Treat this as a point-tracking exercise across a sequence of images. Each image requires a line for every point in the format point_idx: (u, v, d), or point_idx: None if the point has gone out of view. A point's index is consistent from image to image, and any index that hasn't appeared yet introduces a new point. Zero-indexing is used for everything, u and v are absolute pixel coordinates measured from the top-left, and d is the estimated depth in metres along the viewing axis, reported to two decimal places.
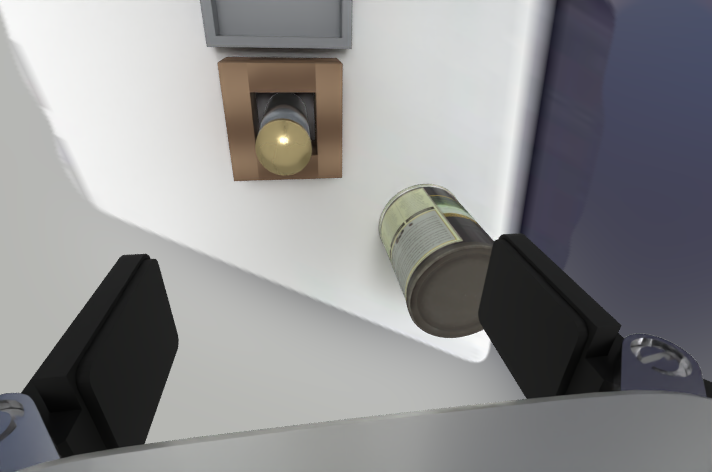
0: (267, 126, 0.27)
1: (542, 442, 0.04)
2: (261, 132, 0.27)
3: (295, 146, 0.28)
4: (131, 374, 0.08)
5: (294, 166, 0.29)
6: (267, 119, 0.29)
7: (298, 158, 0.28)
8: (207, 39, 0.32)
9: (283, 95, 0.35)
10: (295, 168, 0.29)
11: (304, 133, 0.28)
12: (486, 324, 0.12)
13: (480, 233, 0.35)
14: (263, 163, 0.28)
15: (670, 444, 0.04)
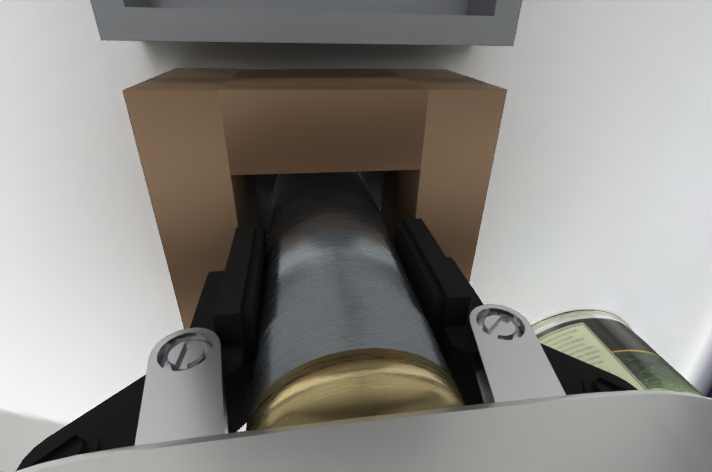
0: (297, 413, 0.06)
1: (542, 442, 0.04)
2: None
3: None
4: None
5: None
6: (290, 319, 0.07)
7: None
8: (100, 17, 0.10)
9: None
10: None
11: None
12: None
13: None
14: None
15: (670, 444, 0.04)
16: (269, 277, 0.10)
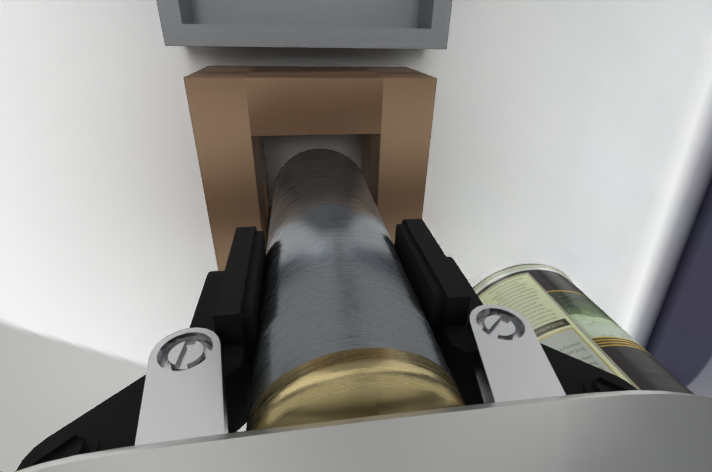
0: (298, 413, 0.06)
1: (542, 442, 0.04)
2: None
3: None
4: None
5: None
6: (290, 319, 0.07)
7: None
8: (165, 30, 0.16)
9: (320, 164, 0.14)
10: None
11: None
12: None
13: (684, 392, 0.19)
14: None
15: (670, 444, 0.04)
16: (269, 277, 0.10)
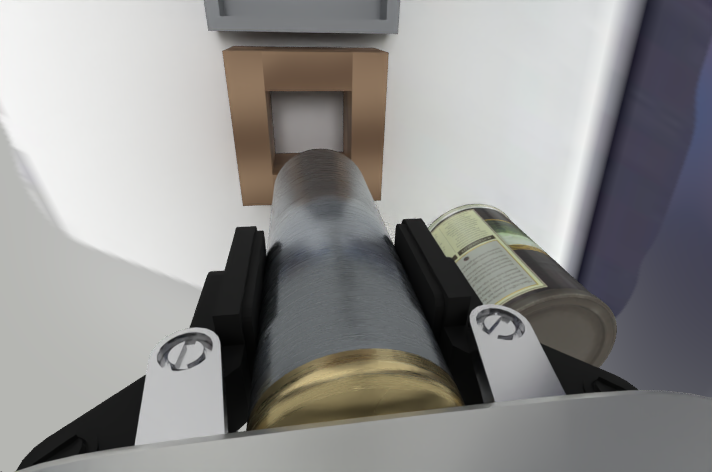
0: (297, 414, 0.06)
1: (542, 442, 0.04)
2: None
3: None
4: None
5: None
6: (290, 319, 0.07)
7: None
8: (209, 20, 0.24)
9: (319, 164, 0.14)
10: None
11: None
12: None
13: (564, 273, 0.27)
14: None
15: (670, 444, 0.04)
16: (269, 277, 0.10)
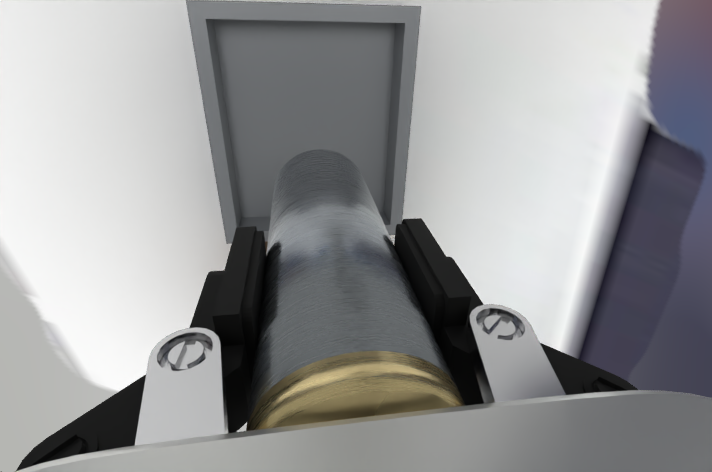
0: (298, 417, 0.06)
1: (542, 442, 0.04)
2: None
3: None
4: None
5: None
6: (290, 321, 0.07)
7: None
8: (227, 236, 0.26)
9: (319, 165, 0.14)
10: None
11: None
12: None
13: None
14: None
15: (670, 444, 0.04)
16: (269, 279, 0.09)
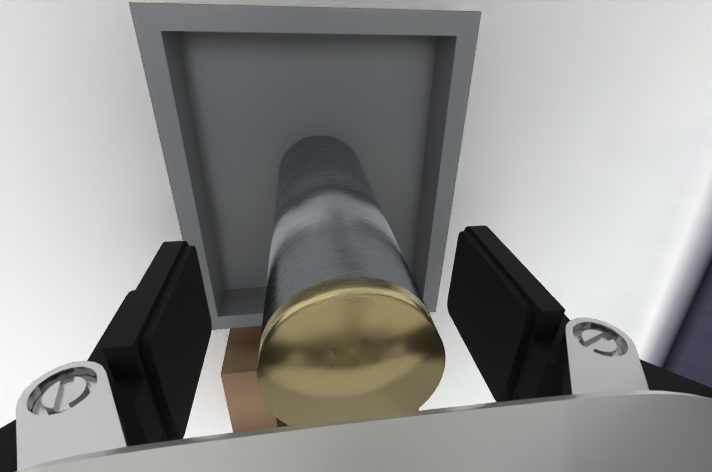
0: (301, 320, 0.07)
1: (542, 442, 0.04)
2: (279, 338, 0.07)
3: (392, 366, 0.08)
4: (179, 350, 0.09)
5: (382, 413, 0.09)
6: (295, 261, 0.09)
7: (398, 393, 0.09)
8: None
9: (320, 148, 0.16)
10: None
11: (429, 330, 0.08)
12: (454, 314, 0.12)
13: None
14: (283, 415, 0.09)
15: (670, 444, 0.04)
16: (276, 237, 0.11)
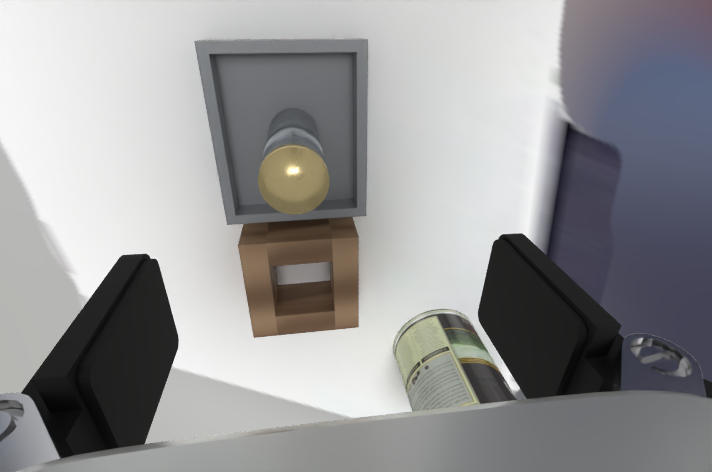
0: (273, 154, 0.21)
1: (542, 442, 0.04)
2: (265, 162, 0.21)
3: (308, 178, 0.22)
4: (131, 374, 0.08)
5: (307, 203, 0.23)
6: (272, 144, 0.23)
7: (313, 192, 0.22)
8: (227, 218, 0.33)
9: (290, 112, 0.30)
10: (309, 205, 0.23)
11: (320, 162, 0.22)
12: (486, 324, 0.12)
13: (496, 387, 0.35)
14: (268, 200, 0.22)
15: (670, 444, 0.04)
16: (266, 145, 0.25)
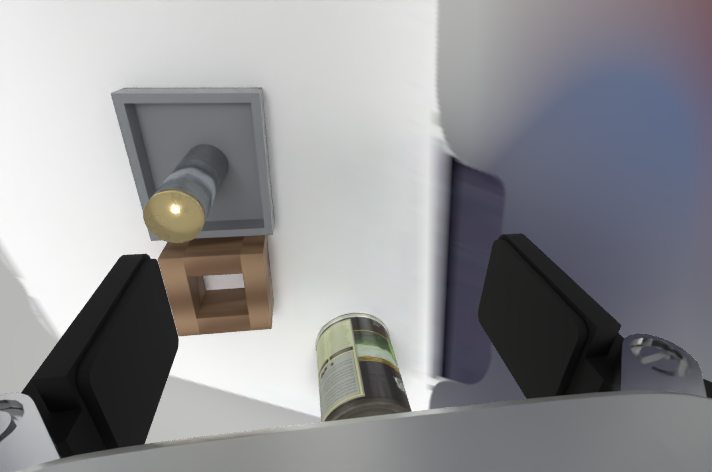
0: (153, 198, 0.27)
1: (542, 442, 0.04)
2: (148, 203, 0.27)
3: (185, 216, 0.28)
4: (131, 374, 0.08)
5: (187, 234, 0.28)
6: (160, 187, 0.28)
7: (190, 226, 0.28)
8: (151, 235, 0.39)
9: (198, 150, 0.35)
10: (188, 236, 0.28)
11: (193, 204, 0.27)
12: (486, 324, 0.12)
13: (384, 382, 0.42)
14: (154, 232, 0.28)
15: (670, 444, 0.04)
16: None
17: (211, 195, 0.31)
